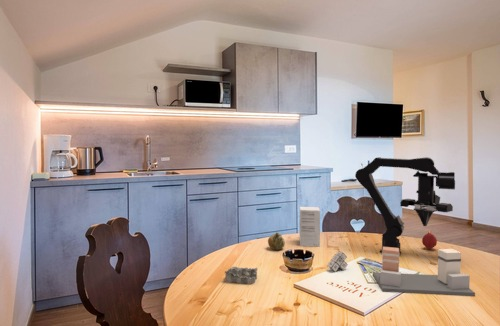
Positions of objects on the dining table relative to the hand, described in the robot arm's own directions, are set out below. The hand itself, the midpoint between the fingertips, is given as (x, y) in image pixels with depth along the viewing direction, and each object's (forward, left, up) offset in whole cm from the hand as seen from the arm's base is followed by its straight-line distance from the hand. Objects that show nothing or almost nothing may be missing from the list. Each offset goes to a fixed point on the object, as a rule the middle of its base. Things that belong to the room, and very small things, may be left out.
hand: (425, 226), depth 141 cm
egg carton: (-27, -74, -14) cm, 79 cm away
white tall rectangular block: (+19, -23, -12) cm, 32 cm away
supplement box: (-43, -22, -13) cm, 50 cm away
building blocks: (-14, -39, -13) cm, 43 cm away
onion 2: (-46, -40, -13) cm, 62 cm away
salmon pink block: (+6, -36, -12) cm, 38 cm away
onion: (-4, +13, -13) cm, 19 cm away
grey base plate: (+13, -30, -13) cm, 35 cm away
